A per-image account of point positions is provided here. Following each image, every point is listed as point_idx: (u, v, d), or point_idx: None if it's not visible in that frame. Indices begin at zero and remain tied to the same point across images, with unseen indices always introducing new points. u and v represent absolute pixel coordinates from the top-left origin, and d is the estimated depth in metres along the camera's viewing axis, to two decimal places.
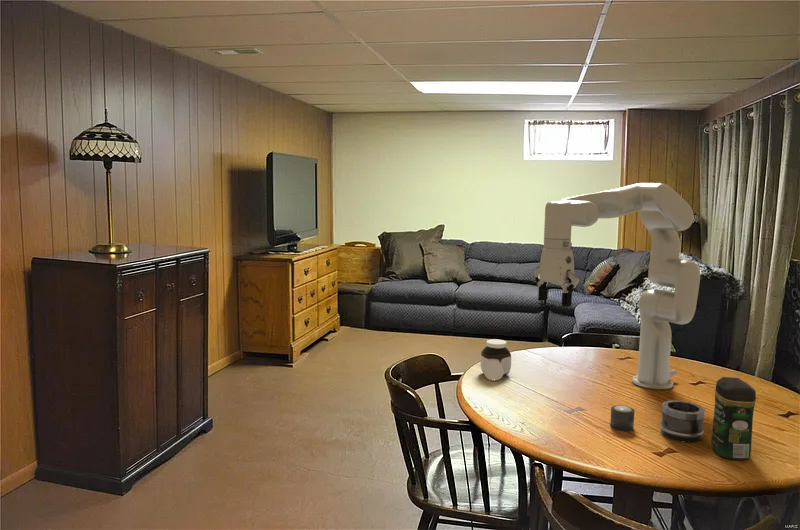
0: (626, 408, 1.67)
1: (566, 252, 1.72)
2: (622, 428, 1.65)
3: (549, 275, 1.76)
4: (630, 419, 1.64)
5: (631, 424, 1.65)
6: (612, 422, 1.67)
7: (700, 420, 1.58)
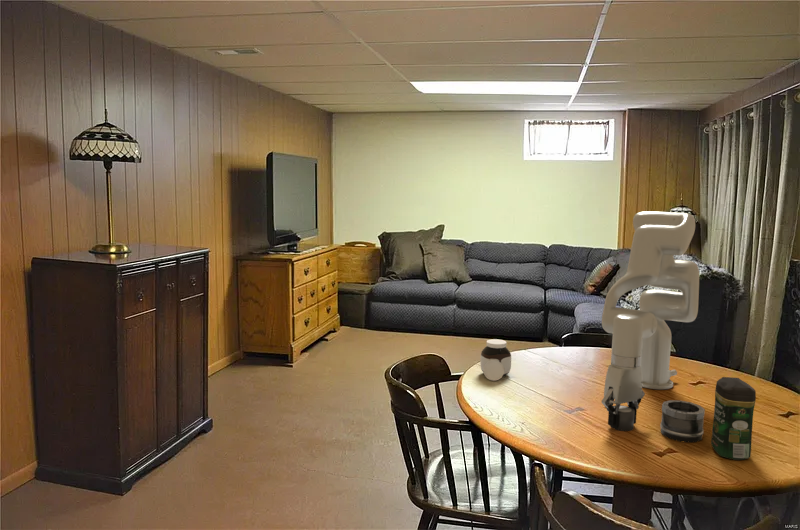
0: (626, 408, 1.67)
1: None
2: (622, 428, 1.65)
3: (630, 394, 1.64)
4: (630, 419, 1.64)
5: (631, 424, 1.65)
6: None
7: (700, 420, 1.58)
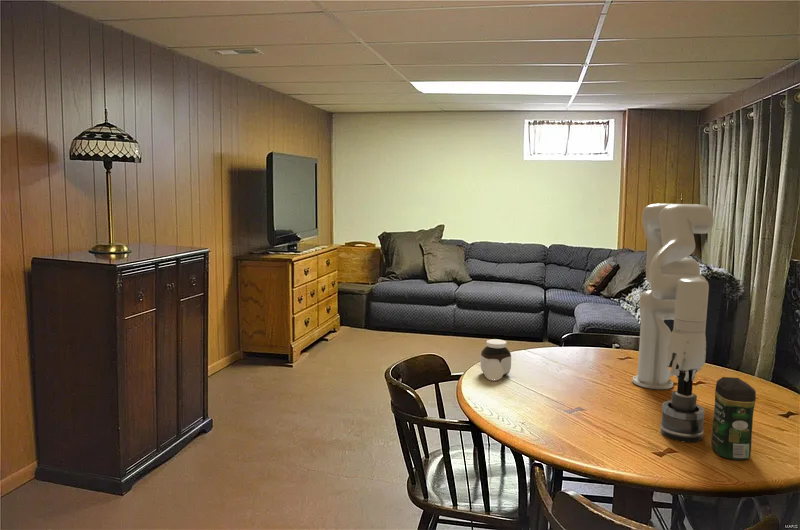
0: None
1: None
2: None
3: (695, 361, 1.58)
4: (692, 405, 1.59)
5: (694, 410, 1.59)
6: (673, 408, 1.61)
7: (700, 420, 1.58)
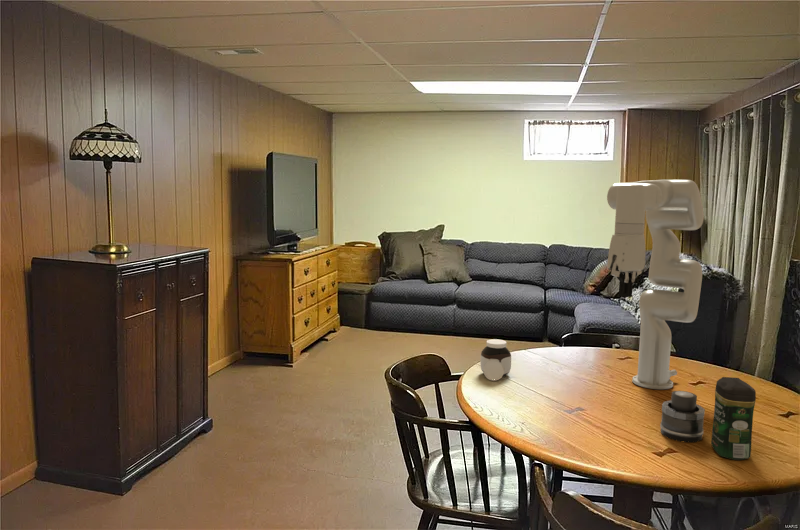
0: (687, 393, 1.62)
1: None
2: None
3: (634, 262, 1.66)
4: (692, 405, 1.59)
5: (694, 410, 1.59)
6: (673, 408, 1.61)
7: (700, 420, 1.58)
